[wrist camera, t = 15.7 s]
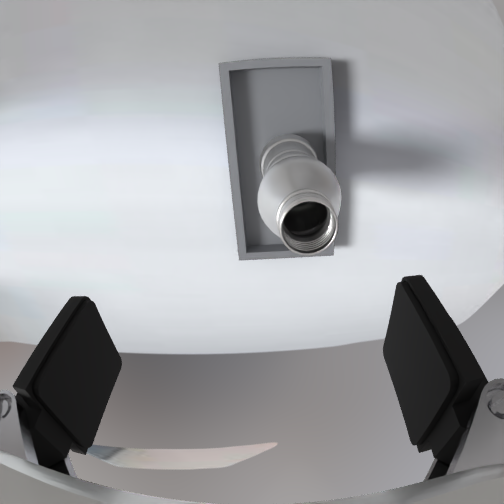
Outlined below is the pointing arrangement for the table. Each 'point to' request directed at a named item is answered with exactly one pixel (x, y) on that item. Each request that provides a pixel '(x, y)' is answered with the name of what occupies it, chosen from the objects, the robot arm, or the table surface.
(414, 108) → the table surface
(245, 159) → the grey rectangular tray
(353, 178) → the table surface
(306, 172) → the plastic bottle
